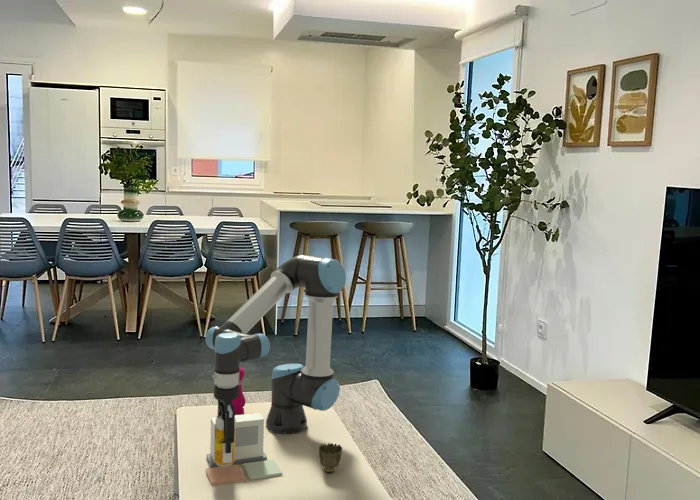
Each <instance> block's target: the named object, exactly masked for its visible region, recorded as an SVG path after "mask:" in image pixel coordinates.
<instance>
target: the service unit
mask: <svg viewBox="0 0 700 500" xmlns="http://www.w3.org/2000/svg"><path fill="white" fill-rule="evenodd" d="M216 418H217V416H216V417H210V450H209V451H210V452H209V453H206V460H207V463H208V465H209V466H210V467H209V468H213V467H220V466H218V465H217V464H216V463H215V422H216ZM235 419H236V431H235V461H234V463H233V464H232V465H236V464H237V465H238V466H243V463H251V462H258V461H266V460H267V459H268V457H267V455H266V453H265V452H264V437H265V436H264V434H265V431H264V430H265V429H264V428H265V418H264V417H263V416H262V414H261V413H260V412H254V413H245V414H243V415H235Z"/></svg>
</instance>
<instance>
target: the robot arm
mask: <svg viewBox="0 0 700 500" xmlns="http://www.w3.org/2000/svg"><path fill="white" fill-rule="evenodd" d="M346 275H347V274H346V270H345V267H344V265H343V264H342V263H341V262H340V261H339V260H338V259H335V258H334V259H333V258H330V257H325V256H315V255H309V254H301V255H296V256H294V257H292V258H289V259H288V260H286V261H284V262H283V263H282V264H280V265H279V266H278V267H277V268H276V269H275V270H273V271H272V272H271V274H270V278H269V279H268V280H267V281H266V282H265V283H264V284H262V286H261V287H260V288H259V289H258V290H257V291H256V292H255V293H254V294H253V295H252V296H251V297H249V299H248V300H247V301H246V302H245V303H244V304H243V305H242V306H240V308H239V309H237V311H235V313H233V315H231V316H230V318H228V319H227V320H226V321H225V322H224V323H223V324H222V325H221V326H212V327H211V328H209V329H208V330H207V332H206V334H205V343H206V347H208V348H210V349H211V350H214V374H212V378H213V383H214V386H213V398H214V399H216V400H217V416H218V415H221V418H222V419H223V420H224V441H222V443H223V460H222V462H223V463H229V462H232V443H233V442H234V418H235V410H234V404H232V401H233V400H234V399H236V398H238V396H239V385H238V384H239V377H240V367H241V364H242V363H245V362H248V361H253V360H256V359H257V360H258V359H261V358H263V357H265V356H267V355H268V354H269V353H270V348H271V343H270V340H269V338H268V337H267V336H266V334H264V333H254V334H248V333H249V331H251V329H253V327H255V325H256V324H257V323H258V322H259V321H260V320H261V319H263V317H264V316H265V315H266V314H267V313H268V312H269V311H271V309H272V308H273V307H274V306H275V305H276V304H277V303H278V302H279V301H280V300H281V299H282V298H283V297H284V296H285V295H286V294H291V293H292V292H293V291H294V290H295V289H298V288H304V296H305V297H306V298H307V300H308V313H307V315H308V316H307V329H306V330H307V331H306V333H307V335H306V349H305V350H306V351H305V354H306V355H305V365H303V364H301V363H286V364H280V365H278V366H275V367H274V368H273V369H272V373H271V374H272V375H271V402H270V403H271V405H270V409H269V411H268V414H267V416H266V421H265V428H267V430H268V431H271V432H273V433H277V434H289V435H290V434H296V433H301V432H303V431H305V430H306V429H307V428H308V427H307V426H308V419H307V415H306V413H305V409H304V407H307V408H310V409H313V410H314V411H315V410H316V411H322V412H325V411H328V410H330V409H331V408H332V407H333V406H334V404H335V403H336V402H337V400H338V398H339V395H340V389H341V387H340V384H339V382H338V380H337V379H335V378H334V377H335V376H334V374H335V373H334V370H333V369H332V368H331V349H332V348H331V347H332V333H333V332H332V331H333V329H332V327H333V314H334V313H333V312H334V300H336V299H337V298H338V296H339V293H340V292H342V290H343V289H344V286H345V285H346V281H347V277H346ZM224 416H226V417H224Z"/></svg>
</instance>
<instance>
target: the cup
mask: <svg viewBox="0 0 700 500" xmlns="http://www.w3.org/2000/svg"><path fill="white" fill-rule="evenodd" d="M342 452H343V447H342V446H341V444H338V445H337V443H334V444H333V442H332V443H331V442H328V443H327V444H326V443H324V444H320V445H319V446H318V455H319V456H318V457H319V462H320V466H322V467H323V471H324V472H325V473H327V474H333V473H335V471H336V469H337V467H338V466H339V465H340V463H341V458H342Z"/></svg>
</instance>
